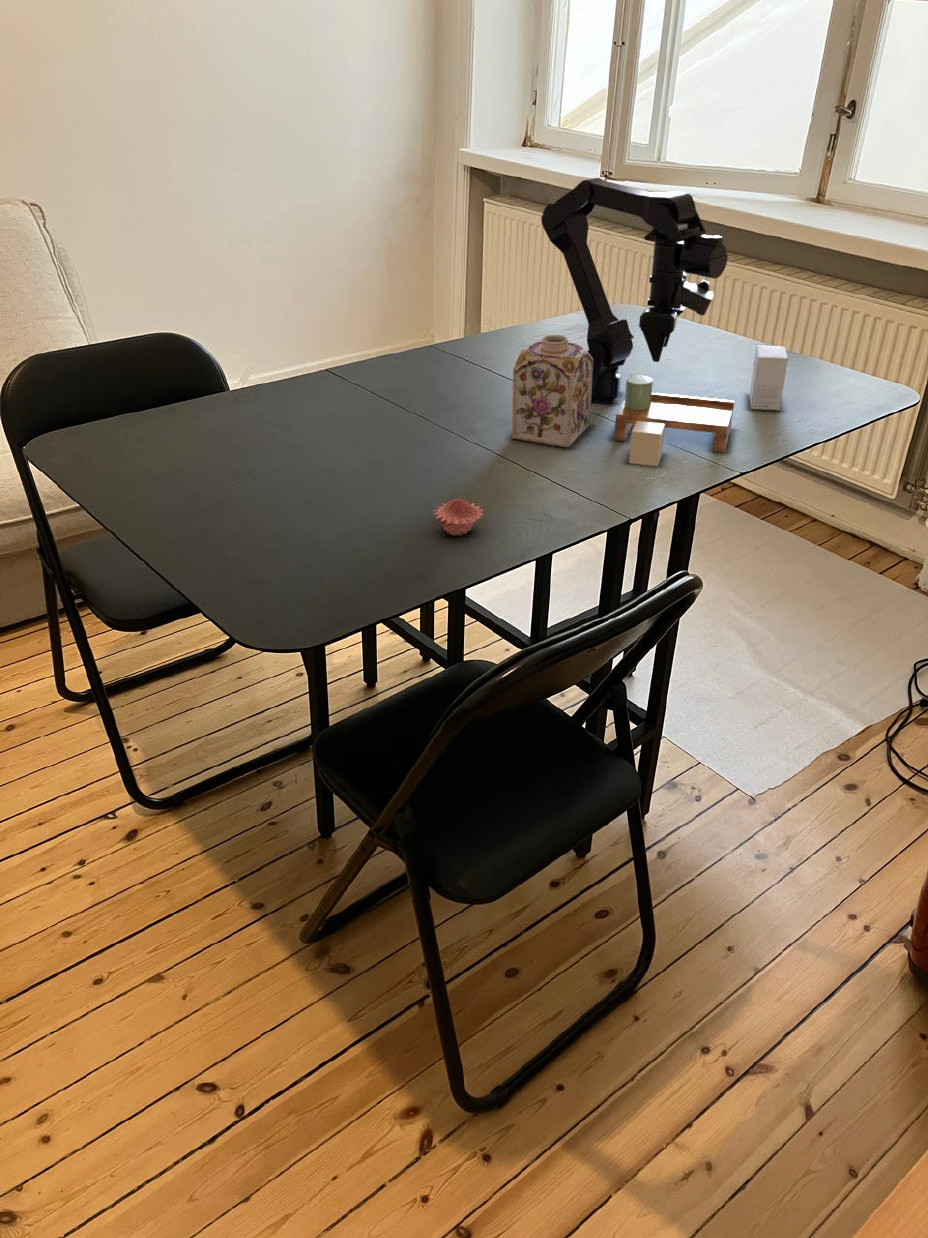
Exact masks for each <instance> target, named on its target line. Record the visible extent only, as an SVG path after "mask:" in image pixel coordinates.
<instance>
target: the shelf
mask: <svg viewBox="0 0 928 1238" xmlns="http://www.w3.org/2000/svg"><path fill="white" fill-rule="evenodd" d="M734 407H735V400H732V399H731V400H729V399H720V398H710V397H699V396H689V395H680V394H668V393H661V392H660V393H659V392H652V397H651V407H650V408H649V409H646V410H632V409H629V408H627V407H625V398H624V399H623V401H622V403H621V405H620V407H619V408H618V410H617V412H616V414H615V421H614V422H615V423H614V435H613V440H614V441H619V442H625V441H626V440H627V438H628V435H629V433H630V431H631V429H632V427H633V426H634V425H635V424H636V422H637V421H643V422H652V423H661V424H665V429H666V428H667V429H675V430H685V431H693V432H703V433H713V434H714V440H713V447H712V452H715V453H725V452H726V447H727V444H728V441H729V437H730V433H731V429H732V422H733V414H734Z"/></svg>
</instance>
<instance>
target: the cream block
mask: <svg viewBox="0 0 928 1238" xmlns="http://www.w3.org/2000/svg"><path fill="white" fill-rule="evenodd" d="M665 429H666V428H665V424H661V423H652V422H643V421H637V422H636V424H634V425H633V428H632V430H631V434H630V435H631V436H630V446H629V447H630V448H629V460H628V463H629V464H632V465H633V464H634V465H642V466H649V467H650V466H651V467H658V466H659V463H660V461H661V459H662V456H663V447H664V438H665V431H666V430H665Z"/></svg>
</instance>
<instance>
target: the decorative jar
mask: <svg viewBox="0 0 928 1238" xmlns="http://www.w3.org/2000/svg"><path fill="white" fill-rule="evenodd" d="M593 361H594V360H593V359H592V357H591V355H590V354H589V353H588V350H587V349H586V348H584V347H583V346H582V345H580V344H578V343H576V342H569V338H568V337H567V336H565V335H563V334H549V335H545V336H544V337H542V339H541V341H537V342H531V343H529V344H527V345H526V346H525V347H523V348H522V349H521V351H520V353H519V355H518V358H517V359H516V361H515V365H514V366H513V368H512V373H513V374H512V376H513V377H512V405H511V406H512V408H511V412H512V413H511V418H512V419H511V420H512V421H511V422H512V423H511V425H512V427H511V432H512V439H514V440H520V441H525V442H531V443H538V444H543V445H549V446H555V447H560V448H561V447H562V448H570V447H571V446H572V445H573V444H574V443H575V442H576V440H578V438H579V437H580V436H581V435H582V434H583V433H584V432H585V431H586V430H587V429H588V428H589V426H590V422H591V409H592V402H591V394H592V371H593Z"/></svg>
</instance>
